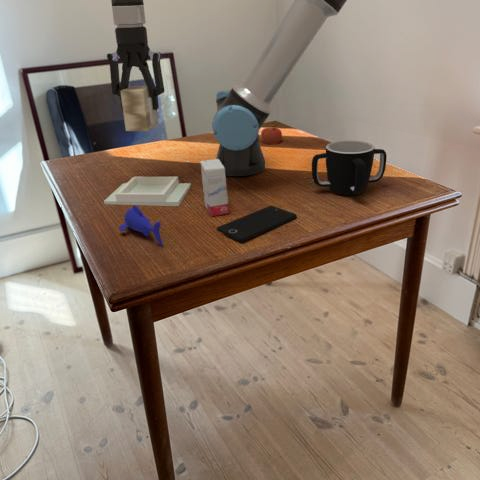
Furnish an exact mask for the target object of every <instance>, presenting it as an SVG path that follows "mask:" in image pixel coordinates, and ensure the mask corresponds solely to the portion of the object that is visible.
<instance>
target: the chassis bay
mask: <svg viewBox="0 0 480 480" xmlns="http://www.w3.org/2000/svg"><path fill="white" fill-rule="evenodd" d="M191 187H192V183H191V182H190V183H186V182H184V183H183V182H182V183H181V182H180V180H179V176H133V177H131V179H130V180H129V181H127V182H125V183H124V182H123V183H121V185H119V187H118V188H116V189H115V190H114V191H113V192H112V193H111V194H110V195H109V196H108V197H107V198H106V199H104V201H103V204H104V205H119V206H121V205H123V206H124V205H127V206H130V205H131V206H134V205H135V206H155V207H159V206H161V207H163V206H164V207H168V206H169V207H179V206H180V205H181V203H182V201H183V199H184V198H185V197H186V195H187V194H188V191H189V190H190V188H191Z"/></svg>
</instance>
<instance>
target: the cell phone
mask: <svg viewBox="0 0 480 480" xmlns="http://www.w3.org/2000/svg"><path fill="white" fill-rule="evenodd" d="M297 216H298V215H297V214H296V213H295V212H292V211H288V210H286V209H282V208H279V207H278V206H277V207H276V206H274V205H269V206H266V207H264V208H262V209H259V210H256V211H253V212H251V213H248V214H247V215H244V216H242V217H239V218H236V219H233V220H231V221H229V222H227V223H224V224H222V225H219V226H217V227H216V231H217V232H219V233H222V235H223V236H226V237H228V238H231V239H232V240H235V241H236V242H240V243H244V242H246V241H248V240H250V239H252V238H254V237H257V236H259V235H261V234H263V233H266V232H268V231H270V230H272V229H275V228H278V227H279V226H281V225H283V224H286V223H288V222H290V221H292V220H296V219H297V218H298V217H297Z"/></svg>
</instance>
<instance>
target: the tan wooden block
mask: <svg viewBox="0 0 480 480" xmlns="http://www.w3.org/2000/svg"><path fill="white" fill-rule="evenodd" d="M120 92H121V99H122V106H123V111H122V113H123V121H124V127H125V131H126V132H149V131H150V130H152V129H154V128H155V127H157V126H158V125H159V124H160V123H159V115H158V113H159V112H158V109H157V110H156V115H157V122H155V123H154V124H151V121H150V112H149V104H148V97H150V93H149V91H148V88H147V86H146V85H133V86H130V87H129V86H128V88H127V89H124V90H122V91H120Z"/></svg>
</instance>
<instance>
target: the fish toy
mask: <svg viewBox="0 0 480 480" xmlns="http://www.w3.org/2000/svg"><path fill="white" fill-rule="evenodd" d="M161 225H162V223H161V221H155V222H154V224H153V226H152V223H151V220H150V219H148V218H147V216H146V215H144V213H143V212H142V210H141V209H140V208H139V207H138V205H132V207H131V208H128V209H127V210H126V212H125V215H124V223H122V224H121V225H120V226H119V227H118V230H119V231H121V232H124V231H125V230H126V229H127V228H128V227H129V229H132V231H136V232H139V233H142V234H143V236H145V237H150V233H152V234H153V235H154V238H155V239H156V241H157V242H158V243H159V244H160V246H162V247H163V246H164V244H163V241H162V238H161V235H160V228H161Z"/></svg>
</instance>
